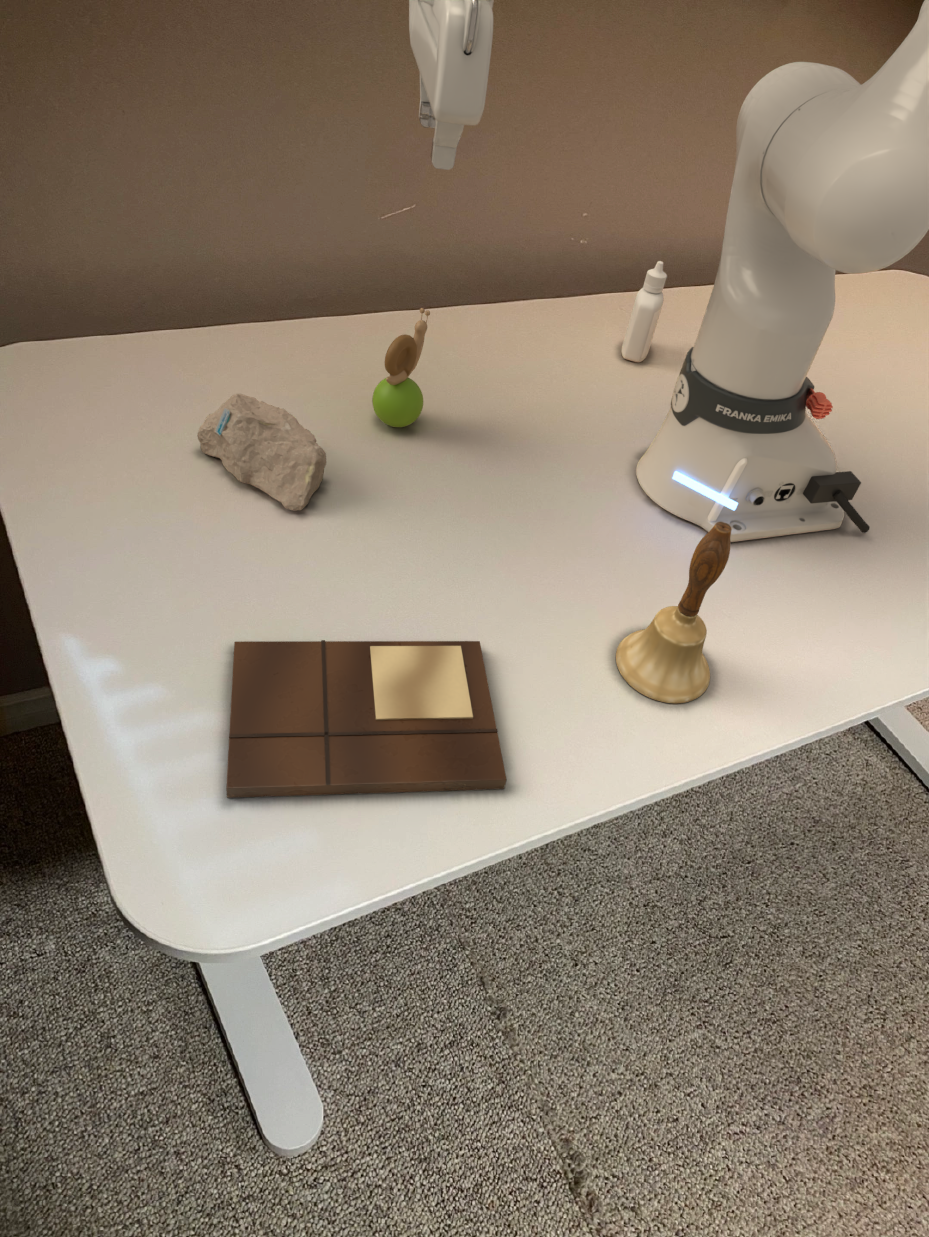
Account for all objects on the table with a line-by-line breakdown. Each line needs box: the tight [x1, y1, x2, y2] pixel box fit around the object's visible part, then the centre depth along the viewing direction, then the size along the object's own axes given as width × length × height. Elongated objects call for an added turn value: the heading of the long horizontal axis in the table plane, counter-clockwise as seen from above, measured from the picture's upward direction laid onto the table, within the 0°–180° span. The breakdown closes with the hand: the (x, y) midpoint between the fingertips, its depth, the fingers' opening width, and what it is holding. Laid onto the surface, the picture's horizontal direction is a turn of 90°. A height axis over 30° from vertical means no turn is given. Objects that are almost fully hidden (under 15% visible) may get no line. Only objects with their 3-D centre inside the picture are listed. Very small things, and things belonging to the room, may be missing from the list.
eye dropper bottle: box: [620, 260, 668, 363], centre depth 116 cm, size 4×6×12 cm
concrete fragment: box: [197, 393, 327, 512], centre depth 90 cm, size 7×14×6 cm, turn 48°
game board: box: [225, 639, 507, 799], centre depth 72 cm, size 20×14×1 cm
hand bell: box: [615, 522, 732, 705], centre depth 75 cm, size 8×8×16 cm
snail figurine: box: [371, 307, 431, 428], centre depth 97 cm, size 5×6×12 cm
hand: (434, 145), depth 79 cm, fingers open, 8 cm apart
